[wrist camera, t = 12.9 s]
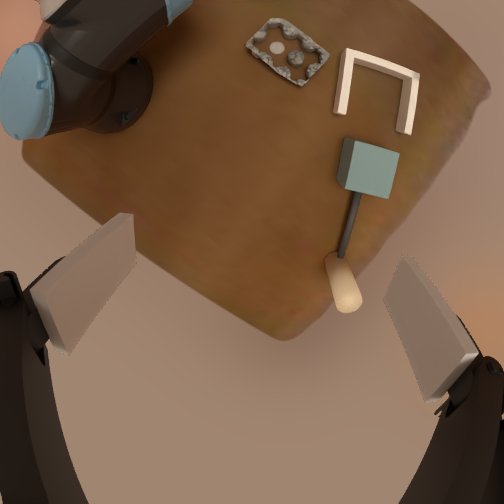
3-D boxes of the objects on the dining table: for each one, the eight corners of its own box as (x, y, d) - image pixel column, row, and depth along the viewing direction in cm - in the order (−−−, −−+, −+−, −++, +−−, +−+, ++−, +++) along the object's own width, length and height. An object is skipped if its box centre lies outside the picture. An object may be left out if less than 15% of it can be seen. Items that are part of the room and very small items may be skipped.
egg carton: (243, 50, 33) (239, 43, 29) (275, 19, 30) (275, 10, 26) (297, 91, 35) (299, 89, 32) (329, 60, 32) (334, 55, 29)
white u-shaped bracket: (332, 113, 36) (337, 112, 33) (341, 53, 31) (346, 48, 28) (401, 132, 36) (410, 134, 33) (409, 76, 31) (419, 74, 28)
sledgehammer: (314, 268, 49) (322, 310, 38) (344, 137, 38) (369, 145, 27) (349, 273, 49) (365, 314, 38) (384, 148, 38) (419, 160, 27)
